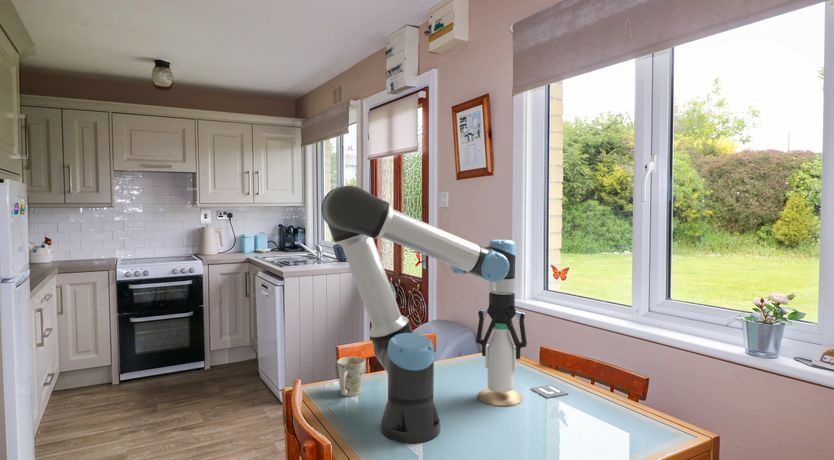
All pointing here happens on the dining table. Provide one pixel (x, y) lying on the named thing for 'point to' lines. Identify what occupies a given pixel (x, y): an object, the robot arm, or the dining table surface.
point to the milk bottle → (500, 360)
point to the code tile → (549, 391)
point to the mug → (351, 375)
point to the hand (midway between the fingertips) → (500, 368)
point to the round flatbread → (500, 397)
